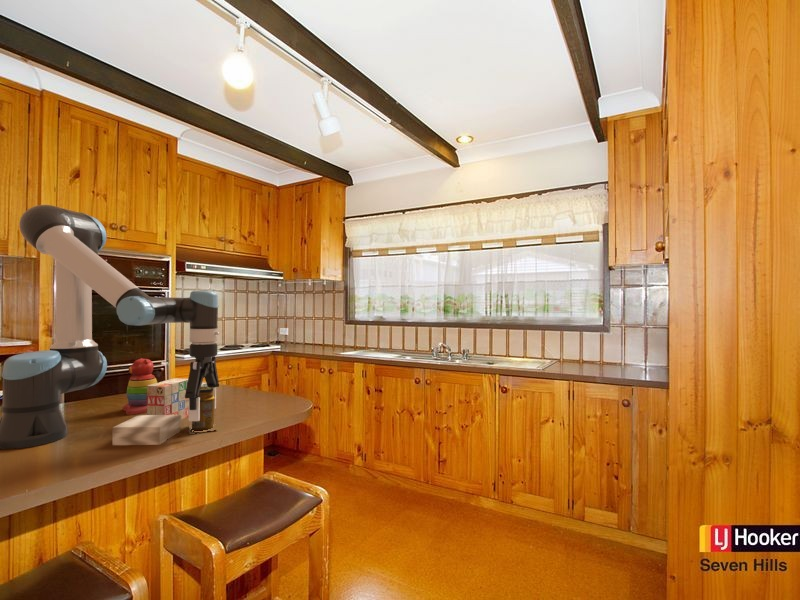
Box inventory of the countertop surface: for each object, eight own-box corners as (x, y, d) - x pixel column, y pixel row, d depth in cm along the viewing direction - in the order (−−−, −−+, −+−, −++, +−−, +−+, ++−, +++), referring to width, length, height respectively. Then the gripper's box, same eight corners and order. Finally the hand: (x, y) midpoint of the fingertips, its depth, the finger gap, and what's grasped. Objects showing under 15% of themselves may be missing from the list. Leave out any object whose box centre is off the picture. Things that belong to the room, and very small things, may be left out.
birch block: (112, 446, 110) (112, 427, 110) (138, 432, 122) (138, 415, 122) (159, 445, 111) (159, 426, 111) (180, 432, 123) (180, 414, 123)
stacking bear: (121, 409, 146) (121, 358, 146) (154, 404, 153) (154, 356, 153) (126, 415, 138) (127, 361, 138) (161, 410, 145) (162, 359, 145)
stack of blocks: (192, 407, 150) (193, 373, 150) (208, 408, 149) (209, 374, 149) (146, 425, 129) (146, 384, 129) (164, 426, 127) (164, 385, 128)
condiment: (215, 424, 130) (215, 385, 130) (217, 431, 122) (217, 390, 123) (188, 427, 127) (189, 387, 127) (189, 435, 119) (189, 392, 119)
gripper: (201, 347, 113) (200, 426, 113) (229, 339, 137) (228, 404, 137) (172, 347, 112) (171, 427, 112) (205, 339, 137) (205, 404, 137)
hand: (202, 414), depth 125 cm, fingers open, 13 cm apart
